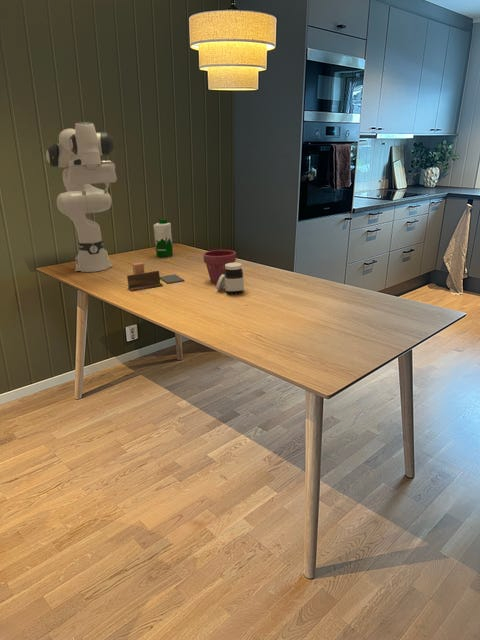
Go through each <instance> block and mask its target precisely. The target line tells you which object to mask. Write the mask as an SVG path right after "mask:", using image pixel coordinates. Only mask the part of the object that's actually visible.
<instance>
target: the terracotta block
mask: <svg viewBox="0 0 480 640" xmlns="http://www.w3.org/2000/svg"><path fill="white" fill-rule="evenodd" d="M131 264H132V265H131V266H132V273H133V274H132V275H134V274H140V273H145V264H144V262H133V263H131Z"/></svg>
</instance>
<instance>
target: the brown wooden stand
mask: <svg viewBox="0 0 480 640" xmlns="http://www.w3.org/2000/svg"><path fill="white" fill-rule="evenodd" d="M160 277H161V276H160V271H159V270H155V271H149V272H148V271H147V272H144V273H140V274H129V275H128V274H127V275H126V278H127V279H126V280H127V287H128V288H127V289H128V290H129V291H130V292H137V291H143V290H148V289H154V288H159V287H164V284H163V283H161V279H160Z"/></svg>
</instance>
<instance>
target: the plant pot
mask: <svg viewBox="0 0 480 640" xmlns="http://www.w3.org/2000/svg"><path fill="white" fill-rule="evenodd" d="M236 254H237V253H236V251H234V250H229V249H214V250H209V251H205V252H204V253H203V263H205V265H206V269H207V272H208V276H209V278H210V279H209V280H210V282H211V283H212V284H213V283H214V284H217V282H218V279H219V278H220V276H221V275H222V274H223V275H224V274H225V264H228V263H236V261H237V255H236Z"/></svg>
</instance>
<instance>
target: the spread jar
mask: <svg viewBox="0 0 480 640" xmlns="http://www.w3.org/2000/svg"><path fill="white" fill-rule="evenodd" d="M215 287H216V290H218V291H221V290H223V288H224V291H225V293H226V294H228V295H240V294H243V293H244V290H245V287H244V271H243V264H242V262H234V263H228V264H225V274H224V275H223V274H222V275H221V276H220V278H219V279H218V282H217V283H216V286H215Z"/></svg>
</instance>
